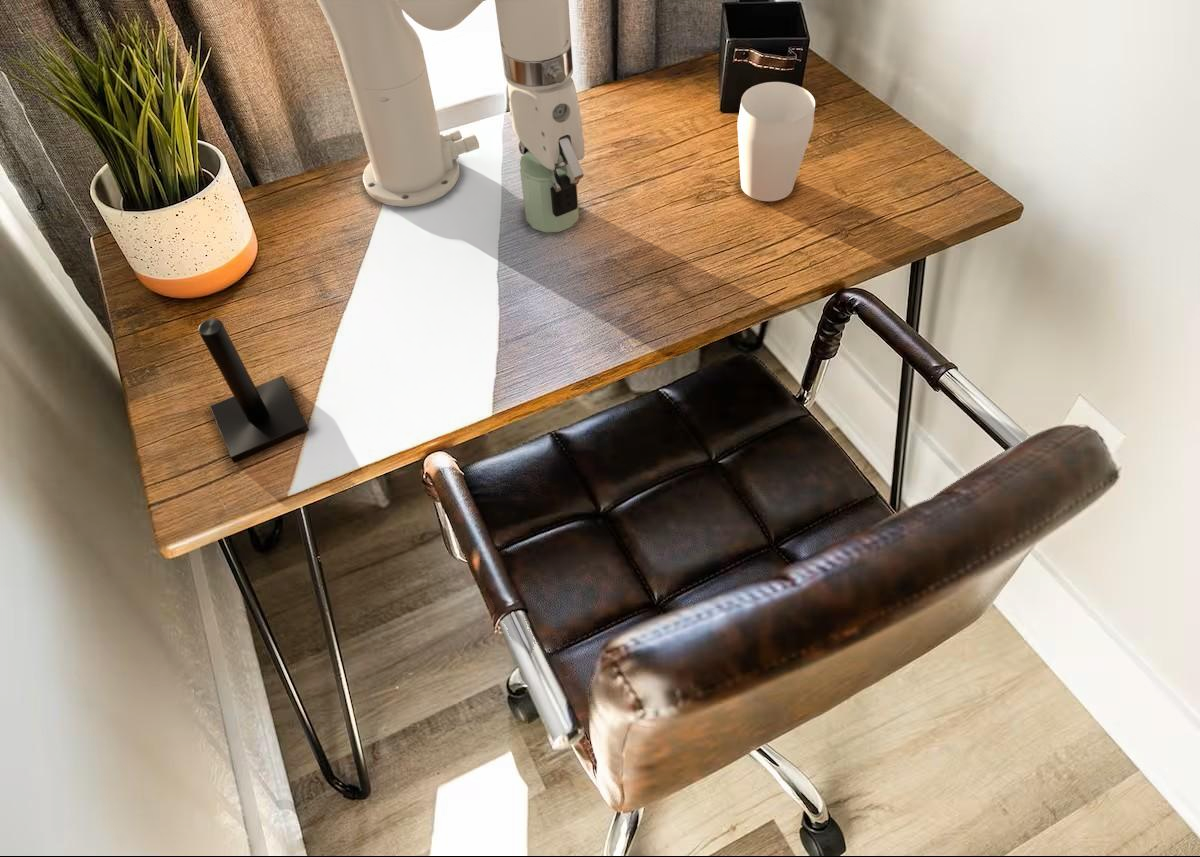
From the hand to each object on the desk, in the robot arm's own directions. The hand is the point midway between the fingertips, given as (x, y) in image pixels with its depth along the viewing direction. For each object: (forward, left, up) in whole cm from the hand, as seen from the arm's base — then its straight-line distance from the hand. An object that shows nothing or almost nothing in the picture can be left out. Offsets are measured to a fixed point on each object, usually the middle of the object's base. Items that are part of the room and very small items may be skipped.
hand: (550, 194), depth 110 cm
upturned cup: (0, 0, -3) cm, 3 cm away
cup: (-26, +10, -3) cm, 28 cm away
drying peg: (+42, +13, -3) cm, 44 cm away
